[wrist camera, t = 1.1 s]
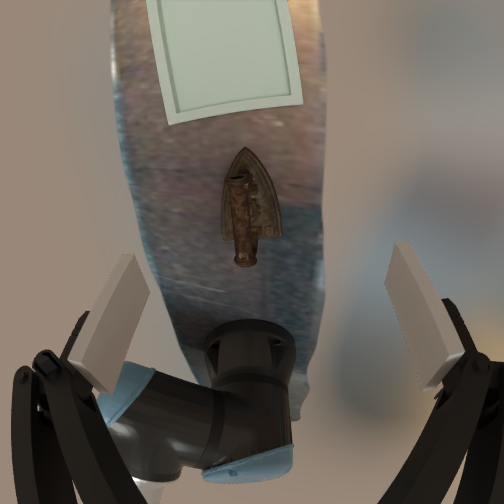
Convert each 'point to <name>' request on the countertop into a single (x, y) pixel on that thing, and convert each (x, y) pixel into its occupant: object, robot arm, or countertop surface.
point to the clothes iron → (249, 207)
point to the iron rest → (223, 56)
